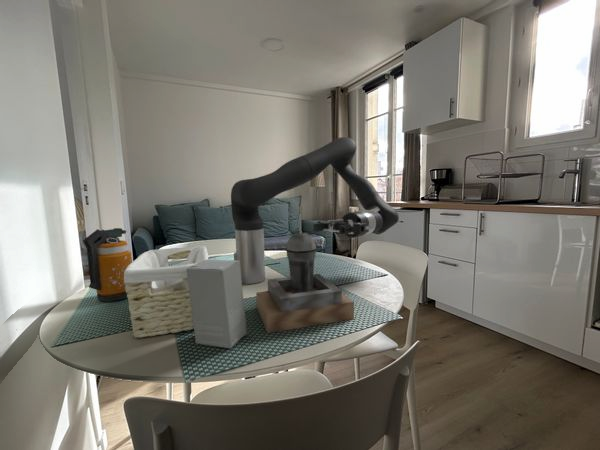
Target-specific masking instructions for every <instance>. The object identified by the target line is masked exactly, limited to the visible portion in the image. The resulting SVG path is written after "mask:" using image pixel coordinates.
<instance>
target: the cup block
mask: <svg viewBox="0 0 600 450" xmlns="http://www.w3.org/2000/svg"><path fill="white" fill-rule="evenodd" d="M255 293H256V294H255V295H256V296H255V297H256V309H257V312H258V314H259V316H260V318H261V321H262V324H263V325H264V328H265V331H266V333H267V334H271V333H276V332H277V333H278V332H283V331H288V330H294V329H300V328H306V327H313V326H318V325H325V324H329V323H330V324H331V323H337V322H343V321H349V320H354V319H355V301H354V300H352V299H351V298H349V297H348V296H347V295H345V293H343V291H342V289H340V288H339V287H338V286H336V285H335V284H334V283H332V282H331V281H329V280H328V279H327V278H325V277H324V276H323V275H321V274H320V273H315V274H314V273H313V288H312V291H310V292H302V293H295V294H293V292H292V286H291V277H290V276H289V277H279V278H270V279H267V290H266V291H265V290H264V291H257V292H255Z"/></svg>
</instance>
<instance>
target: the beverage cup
mask: <svg viewBox="0 0 600 450" xmlns="http://www.w3.org/2000/svg"><path fill="white" fill-rule="evenodd" d="M298 227H299V228H298V231H299V232H295V233H293V234H291V236H290V237H289V238H288V239H287V242H286V243H287V244H286V247H285V251H286V255H287V259H288V265H289V266H288V267H289V277H291V286H292V292H293V294H295V293H302V292H310V291H312V288H313V275H314V272H315V271H314V269H315V259H316V253H317V246H316V242H315V240H314V237H312V236H311V234H309V233H307V232H303V231H302V214H301V213H299V214H298Z"/></svg>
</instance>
